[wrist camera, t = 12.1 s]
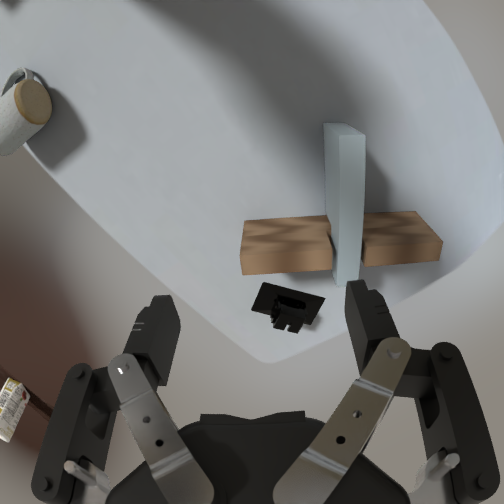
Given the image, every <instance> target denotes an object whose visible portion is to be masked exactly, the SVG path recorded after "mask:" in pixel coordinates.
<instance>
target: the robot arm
mask: <svg viewBox="0 0 504 504" xmlns="http://www.w3.org/2000/svg"><path fill="white" fill-rule="evenodd" d="M345 318H346V322H347V326H348V330H349V333H350V337H351V341H352V345H353V349H354V353H355V357H356V361H357V365H358V369H359V374H360V378H359V379H358V380H357V379H356V380H355V381H354V382H353V384H352V385H351V387H350V388H349V390H348V391H347V393H346V394H345V396H344V398H343V399H342V401H341V402H340V404H339V405H338V407H337V408H336V410H335V411H334V413H333V414H332V415H331V417H330V418H329V420H328V421H327V423H324V422H322V421H319V420H317V419H312V418H307V417H305V411H294V412H281V413H275V414H272V415H268V416H265V417H261V418H257V419H252V420H250V419H245V418H240V417H235V416H231V415H226V414H201V416H200V421H197V422H194V423H191V424H189V425H186V426H184V427H183V428H181V429H179V428H178V426H177V425H176V423H175V422H174V421H173V419H172V417H171V416H170V414H169V412H168V411H167V409H166V407H165V406H164V404H163V402H162V401H161V399H160V397H159V396H158V394H157V392H156V391H157V387H158V386H166V385H167V381H168V377H169V373H170V369H171V365H172V361H173V356H174V353H175V349H176V345H177V341H178V337H179V333H180V328H181V326H180V319H179V316H178V313H177V310H176V308H175V305H174V302H173V299H172V297H171V296H170V295H158V296H154V297H153V299H152V302H151V304H150V307H144V309H143V310H142V311H141V312H140V313H139V314H138V316H137V318H136V321H135V324H134V326H133V329H132V331H131V333H130V336H129V338H128V341H127V343H126V346H125V349H124V351H123V353H122V354H120V355H118V356H116V357H115V358H113V359H112V360H111V361H110V363H109V365H108V367H103V368H99V369H95V370H92V368H91V367H90V366H89V365H88V364H86V363H79V364H76V365H74V366H73V367H72V368H71V369H70V370H69V371H68V373H67V375H66V378H65V380H64V383H63V385H62V388H61V390H60V394H59V396H58V399H57V401H56V404H55V407H54V409H53V412H52V415H51V418H50V421H49V424H48V427H47V430H46V433H45V436H44V439H43V442H42V446H41V449H40V453H39V456H38V459H37V463H36V466H35V470H34V474H33V478H32V482H31V488H32V492H33V494H34V495H35V497H36V498H37V499H39V500H41V501H43V502H45V503H47V504H479V503H480V502H482V501H484V500H486V499H488V498H489V497H491V496H492V495H493V494H494V493H495V492H496V490H497V489H498V487H499V484H500V474H499V469H498V465H497V461H496V457H495V452H494V449H493V445H492V441H491V438H490V434H489V431H488V427H487V424H486V421H485V418H484V414H483V411H482V408H481V405H480V403H479V399H478V397H477V394H476V391H475V388H474V386H473V383H472V380H471V378H470V375H469V372H468V370H467V367H466V365H465V362H464V360H463V357H462V355H461V352H460V351H459V349H458V348H457V347H456V346H455V345H453V344H451V343H448V342H440V343H437V344H435V345H434V346H433V347H432V349H431V350H422V349H414V348H412V347H410V345H409V344H408V343H407V342H406V341H405V340H403V339H401V338H400V336H399V334H398V331H397V329H396V326H395V324H394V321H393V319H392V316H391V314H390V313H389V309H388V307H387V304H386V302H385V300H384V298H383V296H382V295H381V294H380V293H379V292H378V291H377V290H376V289H373V290H368V289H367V286H366V284H365V281H364V280H363V279H361V280H352V281H347V284H346V296H345ZM394 396H400V397H411V398H414V400H415V404H416V408H417V412H418V417H419V421H420V426H421V431H422V436H423V440H424V445H425V451H426V456H427V462H426V463H424V465H422V466H421V467H420V469H419V470H418V472H417V475H416V484H415V488H414V490H413V491H412V493H409V494H407V492H406V491H405V489H404V488H403V487H402V486H401V485H400V484H398V483H397V482H396V481H395V480H393V479H392V478H391V477H389V476H388V475H387V474H386V473H385V472H383V471H382V470H381V469H380V468H378V466H376V465H375V464H374V463H373V462H372V461H370V460H369V459H368V458H367V457H365V455H363V453H364V451H365V449H366V448H367V446H368V444H369V443H370V441H371V439H372V437H373V435H374V434H375V432H376V430H377V428H378V426H379V424H380V422H381V421H382V419H383V417H384V415H385V413H386V411H387V409H388V407H389V405H390V404H391V401H392V400H393V398H394ZM118 410H121V411H122V413H123V415H124V418H125V420H126V422H127V424H128V426H129V428H130V430H131V433H132V435H133V437H134V439H135V441H136V443H137V445H138V447H139V449H140V450H141V452H142V454H143V456H144V458H145V461H144V462H143V463H142V464H141V465H139V466H138V467H137V468H136V469H135V470H134V471H133V472H131V473H130V474H129V475H128V476H127V477H126V478H124V479H123V480H122V481H121V482H120V483H119V484H117V485H116V486H115V487H114V488H113V489H112V490H111V491H110V482H109V478H108V476H107V475H106V473H105V472H104V469H105V464H106V459H107V453H108V449H109V445H110V440H111V436H112V431H113V427H114V423H115V418H116V414H117V411H118Z"/></svg>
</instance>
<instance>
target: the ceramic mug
mask: <svg viewBox="0 0 504 504" xmlns="http://www.w3.org/2000/svg"><path fill="white" fill-rule="evenodd" d="M24 74H25V76H26V77H25V78H26V79H25V80H22V81H20V82H19V83H17V84H15V85H14V86H13V84H14V83H15V81H16V80H17V79H18V78H19V77H21V76H22V75H24ZM12 86H13V87H12ZM51 113H52V103H51V99H50V96H49V94H48V92H47V90H46V89H45V88H44V87H43V85H41V84H40V83H39V82H37V81H35V80H34V76H33V73H32V71H31V70H29V69H26V68H18V69H17V70H15V71H14V72H13V73H12V74H11V75H10V76H9V78H8V79H7V81H6V82H5V84H4V87H3V89H2V93H1V96H0V155H1V156H7V155H10V154H12V153H14V152H15V151H16V150H17V149H18V148H19V147H20V146H22V145H23V144H24V143H25V142H26V141H27V140H28V139H29V138H31V137H32V136H33V135H34V134H35V133H37V132H38V131H39V130H40V129H41V128H42V127H43V126H44V125H45V124H46V123H47V122H48V120H49V119H50V116H51Z"/></svg>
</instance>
